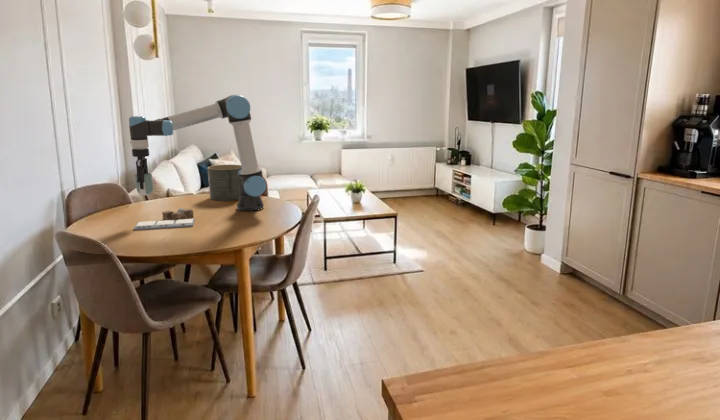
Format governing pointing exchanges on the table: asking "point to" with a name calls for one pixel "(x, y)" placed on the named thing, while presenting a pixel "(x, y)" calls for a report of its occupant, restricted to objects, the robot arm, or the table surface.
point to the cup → (146, 183)
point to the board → (164, 224)
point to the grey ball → (181, 210)
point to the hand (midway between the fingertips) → (144, 193)
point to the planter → (224, 182)
